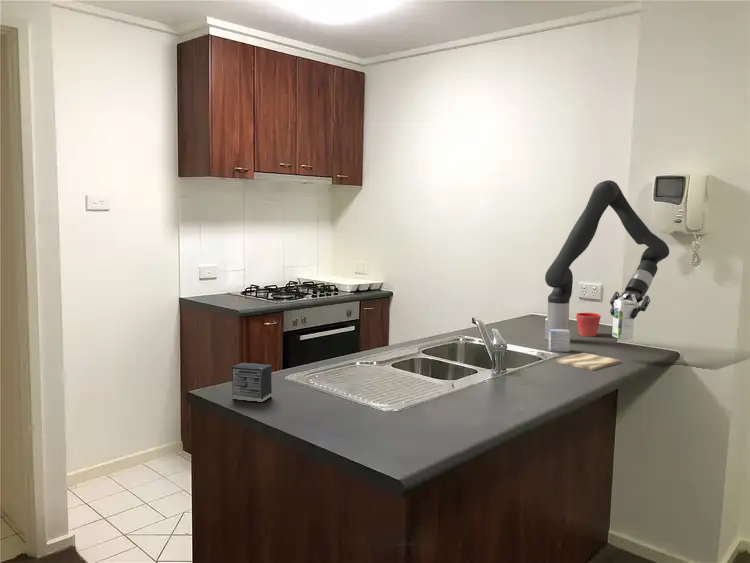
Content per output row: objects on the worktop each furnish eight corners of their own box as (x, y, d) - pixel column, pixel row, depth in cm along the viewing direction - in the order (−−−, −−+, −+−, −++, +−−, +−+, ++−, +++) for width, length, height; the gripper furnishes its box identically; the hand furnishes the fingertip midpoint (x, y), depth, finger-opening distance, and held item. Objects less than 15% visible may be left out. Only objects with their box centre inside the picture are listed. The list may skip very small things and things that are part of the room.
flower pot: (589, 338, 281) (589, 317, 280) (570, 334, 291) (571, 313, 290) (604, 335, 287) (605, 315, 286) (586, 332, 296) (586, 312, 295)
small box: (273, 397, 190) (272, 364, 189) (262, 403, 184) (261, 369, 183) (243, 394, 193) (242, 361, 192) (231, 400, 187) (230, 366, 186)
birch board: (554, 362, 236) (555, 359, 236) (583, 355, 247) (583, 352, 247) (592, 370, 223) (592, 367, 223) (620, 362, 235) (620, 360, 235)
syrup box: (611, 336, 241) (613, 299, 239) (626, 335, 241) (628, 299, 240) (618, 339, 235) (620, 301, 233) (633, 339, 236) (635, 301, 234)
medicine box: (567, 349, 257) (568, 329, 256) (569, 352, 253) (570, 331, 252) (548, 349, 258) (548, 328, 257) (550, 351, 254) (550, 331, 253)
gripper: (619, 275, 246) (601, 307, 240) (654, 279, 234) (636, 312, 229) (625, 287, 250) (608, 319, 244) (660, 292, 238) (642, 325, 233)
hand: (621, 315), depth 236 cm, fingers closed on syrup box, 7 cm apart
